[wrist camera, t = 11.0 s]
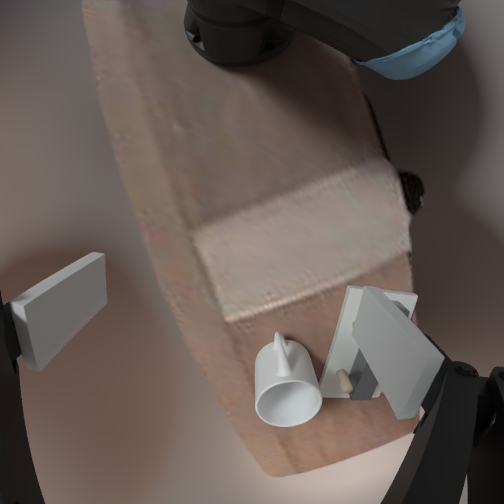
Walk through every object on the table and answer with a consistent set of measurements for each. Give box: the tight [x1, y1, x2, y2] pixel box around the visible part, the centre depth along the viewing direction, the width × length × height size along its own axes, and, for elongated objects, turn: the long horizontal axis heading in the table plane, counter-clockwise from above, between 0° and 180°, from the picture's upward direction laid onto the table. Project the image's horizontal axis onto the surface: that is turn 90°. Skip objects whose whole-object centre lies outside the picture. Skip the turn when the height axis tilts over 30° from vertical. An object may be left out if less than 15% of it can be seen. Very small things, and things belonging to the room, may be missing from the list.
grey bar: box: [348, 300, 410, 400], centre depth 41 cm, size 16×5×4 cm, turn 171°
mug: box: [255, 331, 322, 427], centre depth 39 cm, size 9×12×11 cm
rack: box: [318, 285, 418, 398], centre depth 42 cm, size 20×12×6 cm, turn 171°
